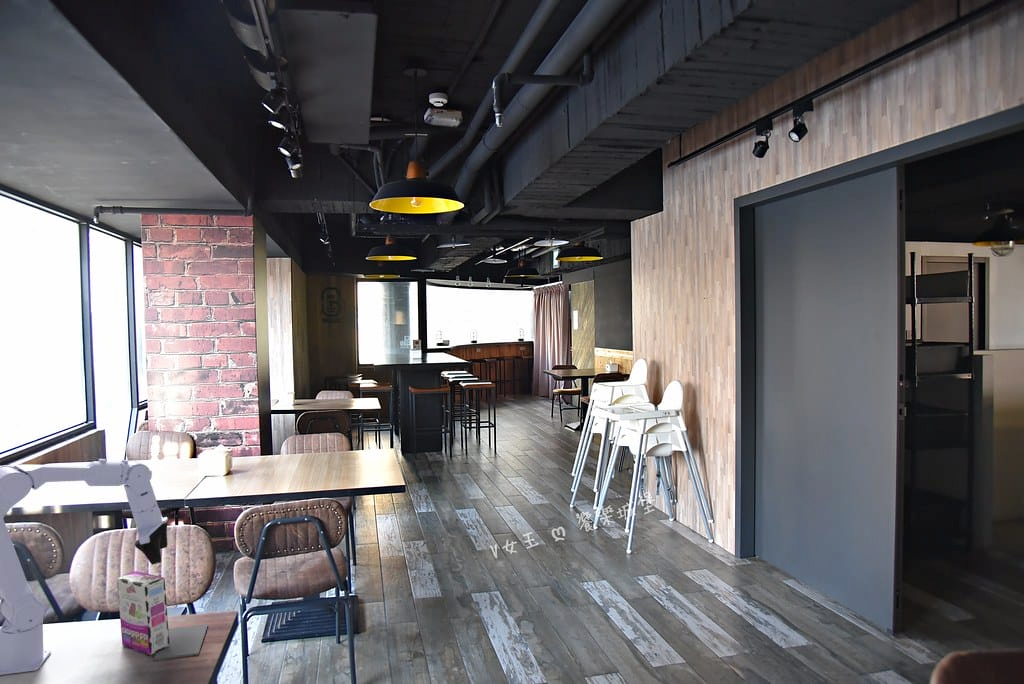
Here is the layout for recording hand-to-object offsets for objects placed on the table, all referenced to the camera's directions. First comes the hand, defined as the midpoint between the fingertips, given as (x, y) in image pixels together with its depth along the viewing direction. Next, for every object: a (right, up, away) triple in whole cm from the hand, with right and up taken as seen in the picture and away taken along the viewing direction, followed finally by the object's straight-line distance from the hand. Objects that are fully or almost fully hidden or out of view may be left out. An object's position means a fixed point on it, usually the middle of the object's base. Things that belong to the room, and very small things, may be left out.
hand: (159, 555), depth 165 cm
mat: (+11, -17, -11) cm, 23 cm away
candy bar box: (+4, -17, -13) cm, 22 cm away
